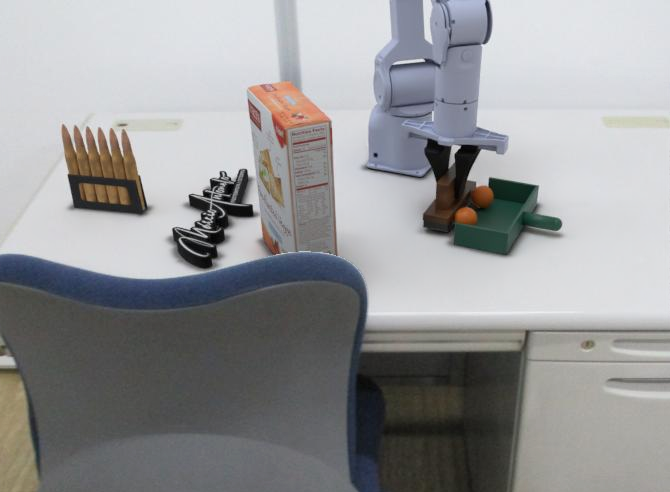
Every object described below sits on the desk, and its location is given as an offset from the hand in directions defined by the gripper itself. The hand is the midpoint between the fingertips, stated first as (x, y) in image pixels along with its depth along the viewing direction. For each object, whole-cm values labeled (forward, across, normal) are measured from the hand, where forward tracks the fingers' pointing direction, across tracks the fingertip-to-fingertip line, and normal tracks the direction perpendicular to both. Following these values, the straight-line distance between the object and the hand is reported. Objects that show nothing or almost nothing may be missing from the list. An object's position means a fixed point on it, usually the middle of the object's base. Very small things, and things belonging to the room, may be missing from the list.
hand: (450, 194), depth 117 cm
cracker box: (+3, -14, -20) cm, 25 cm away
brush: (+3, 0, 0) cm, 3 cm away
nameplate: (+3, -30, -14) cm, 33 cm away
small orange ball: (+2, +4, -4) cm, 5 cm away
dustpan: (+3, +10, 0) cm, 10 cm away
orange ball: (+2, +4, +4) cm, 6 cm away
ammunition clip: (+3, -46, -17) cm, 49 cm away
